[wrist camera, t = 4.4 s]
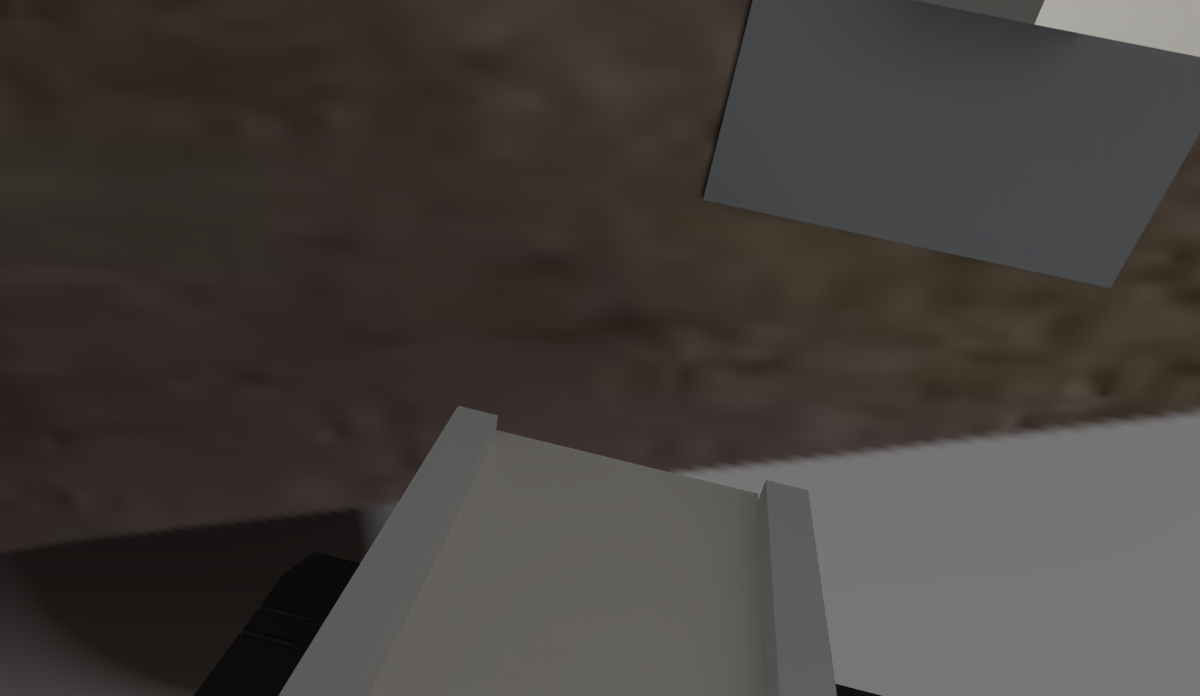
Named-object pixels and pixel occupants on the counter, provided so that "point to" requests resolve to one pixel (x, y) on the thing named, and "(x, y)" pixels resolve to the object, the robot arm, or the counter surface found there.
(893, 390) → the counter surface
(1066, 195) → the mat
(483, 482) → the end domino
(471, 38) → the counter surface
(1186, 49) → the domino
